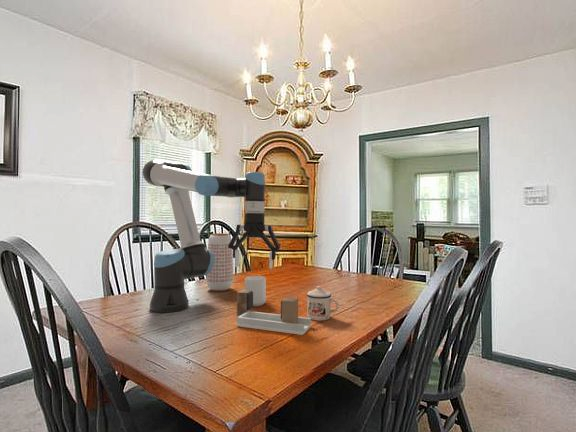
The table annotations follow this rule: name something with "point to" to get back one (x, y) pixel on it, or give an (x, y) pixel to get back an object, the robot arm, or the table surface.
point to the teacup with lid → (319, 304)
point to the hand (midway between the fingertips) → (253, 267)
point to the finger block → (244, 301)
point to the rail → (277, 319)
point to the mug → (257, 289)
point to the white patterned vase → (220, 262)
